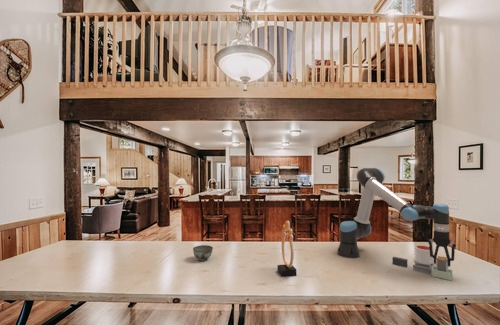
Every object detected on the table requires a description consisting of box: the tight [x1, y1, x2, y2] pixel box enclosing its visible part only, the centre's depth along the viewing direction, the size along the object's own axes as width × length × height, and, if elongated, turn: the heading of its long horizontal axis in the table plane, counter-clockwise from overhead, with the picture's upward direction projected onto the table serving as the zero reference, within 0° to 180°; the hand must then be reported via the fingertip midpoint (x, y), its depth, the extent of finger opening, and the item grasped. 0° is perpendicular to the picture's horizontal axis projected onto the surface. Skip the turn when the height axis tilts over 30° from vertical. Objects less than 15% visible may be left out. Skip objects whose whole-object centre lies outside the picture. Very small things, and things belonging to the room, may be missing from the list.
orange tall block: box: [437, 255, 447, 272], centre depth 152 cm, size 4×4×8 cm
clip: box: [412, 261, 434, 275], centre depth 161 cm, size 9×7×3 cm
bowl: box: [192, 244, 214, 262], centre depth 179 cm, size 14×13×8 cm
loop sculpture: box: [277, 220, 297, 278], centre depth 156 cm, size 17×9×32 cm, turn 12°
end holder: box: [431, 265, 453, 282], centre depth 152 cm, size 9×8×4 cm
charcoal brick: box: [391, 256, 408, 268], centre depth 169 cm, size 8×3×4 cm, turn 46°
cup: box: [414, 245, 434, 266], centre depth 174 cm, size 10×10×10 cm
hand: (442, 270), depth 152 cm, fingers closed on orange tall block, 4 cm apart
